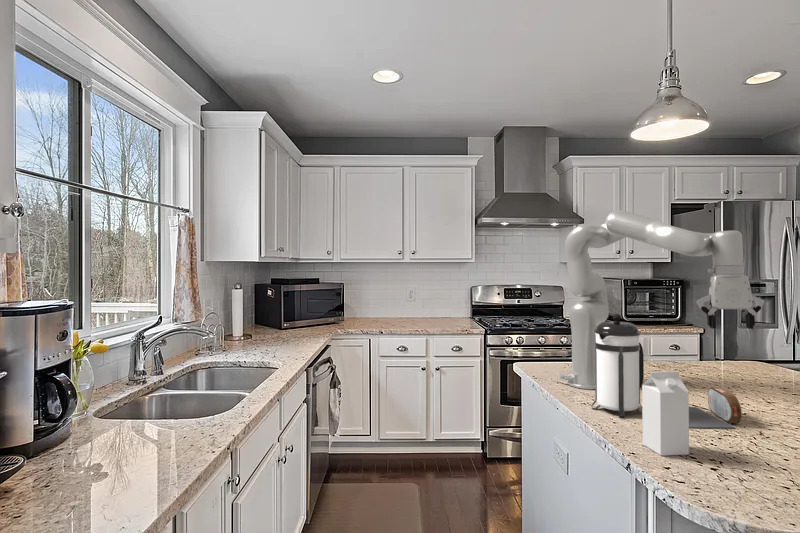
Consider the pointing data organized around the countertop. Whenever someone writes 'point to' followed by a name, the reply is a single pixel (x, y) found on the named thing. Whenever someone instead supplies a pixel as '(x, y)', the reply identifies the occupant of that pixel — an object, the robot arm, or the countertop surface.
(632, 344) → the coffee press
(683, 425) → the milk carton
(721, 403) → the tin
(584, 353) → the robot arm
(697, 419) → the rubber mat
